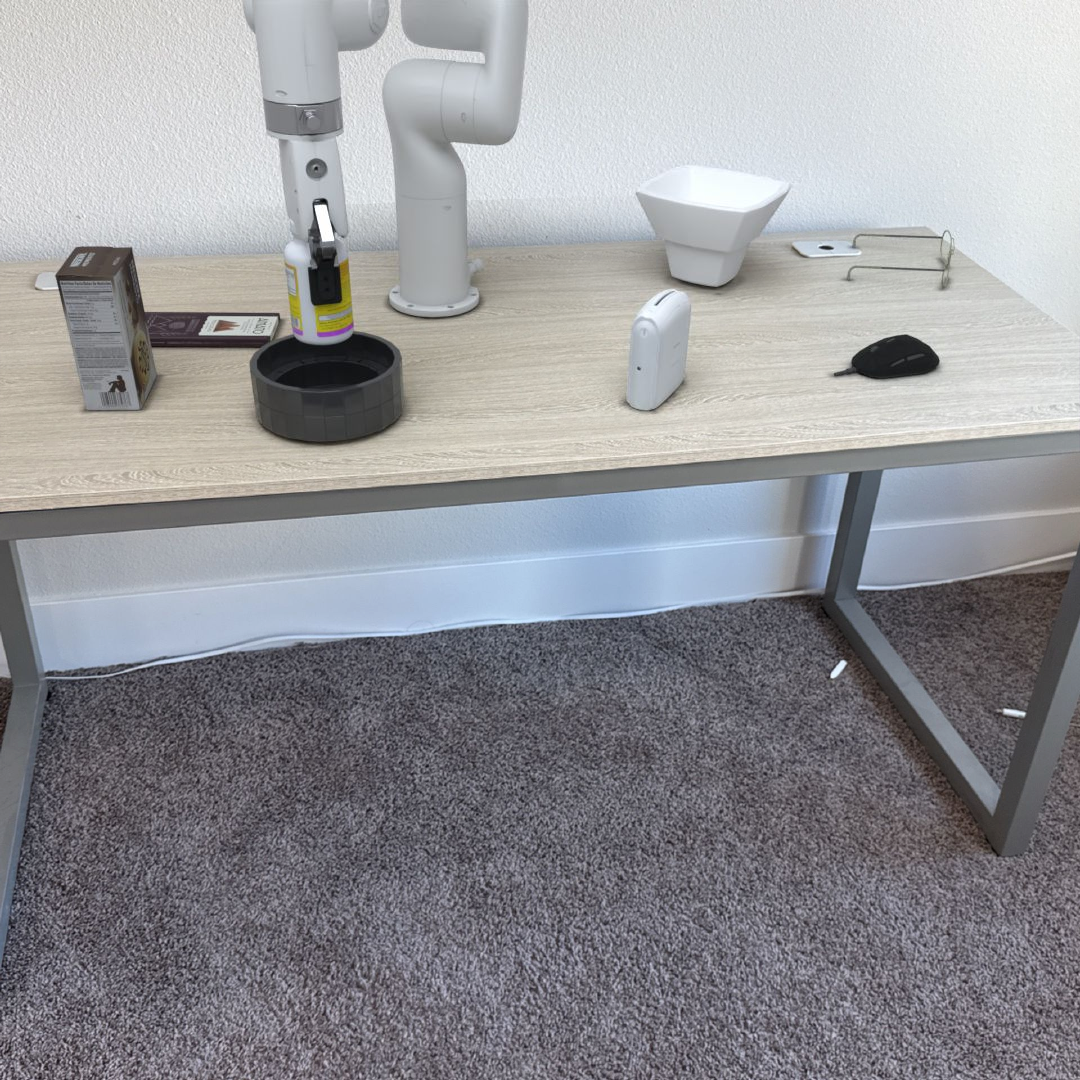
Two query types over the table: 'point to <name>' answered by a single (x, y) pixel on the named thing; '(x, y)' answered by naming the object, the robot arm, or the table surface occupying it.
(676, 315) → the photo printer
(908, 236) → the eyeglasses
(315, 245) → the supplement bottle
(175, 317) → the chocolate bar
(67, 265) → the coffee box
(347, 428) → the black bowl
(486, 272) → the table surface
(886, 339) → the gaming mouse
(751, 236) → the bowl
